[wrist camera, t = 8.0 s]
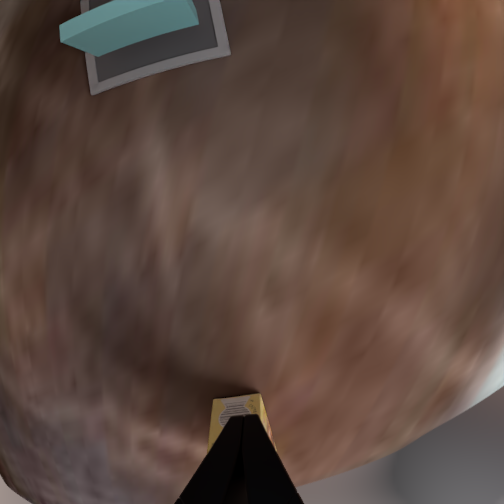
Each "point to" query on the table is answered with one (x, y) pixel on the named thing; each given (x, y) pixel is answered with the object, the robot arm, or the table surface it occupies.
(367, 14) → the table surface
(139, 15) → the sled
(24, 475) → the table surface
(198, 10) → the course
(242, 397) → the candy box
